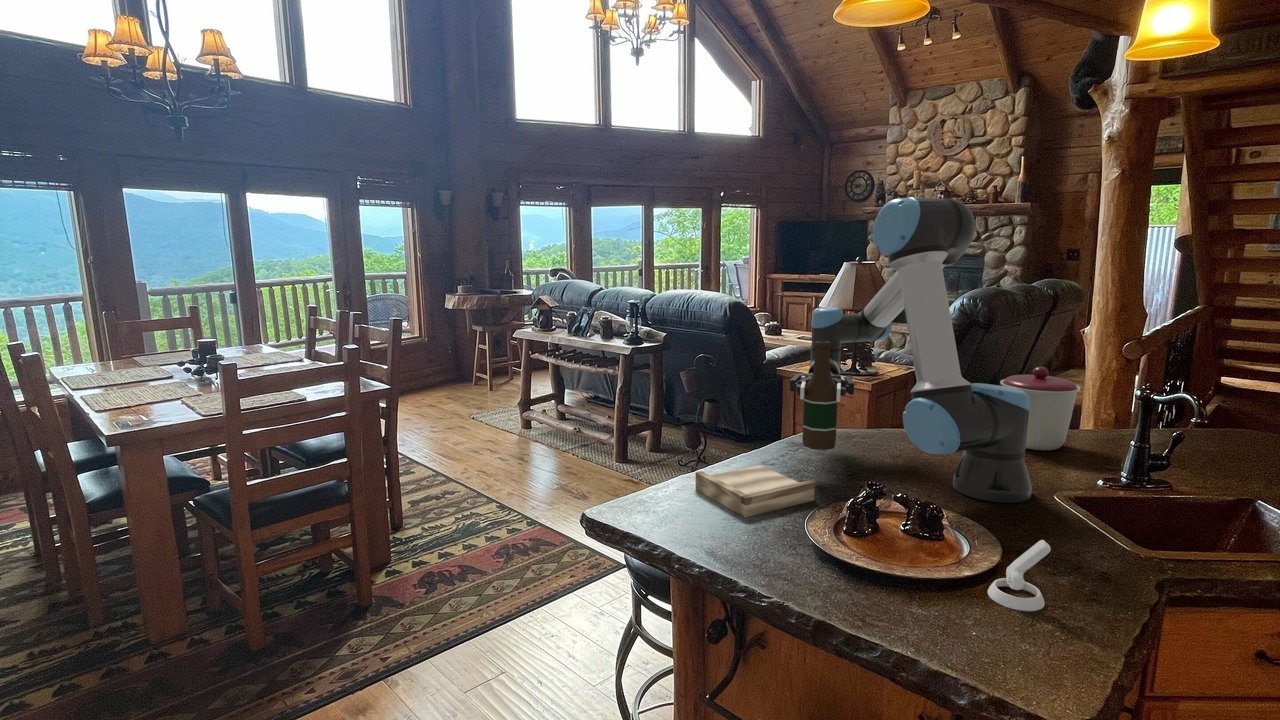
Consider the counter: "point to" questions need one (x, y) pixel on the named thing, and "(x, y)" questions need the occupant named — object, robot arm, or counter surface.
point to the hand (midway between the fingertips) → (820, 394)
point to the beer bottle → (820, 403)
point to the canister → (1046, 407)
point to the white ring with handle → (1021, 581)
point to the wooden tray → (754, 490)
